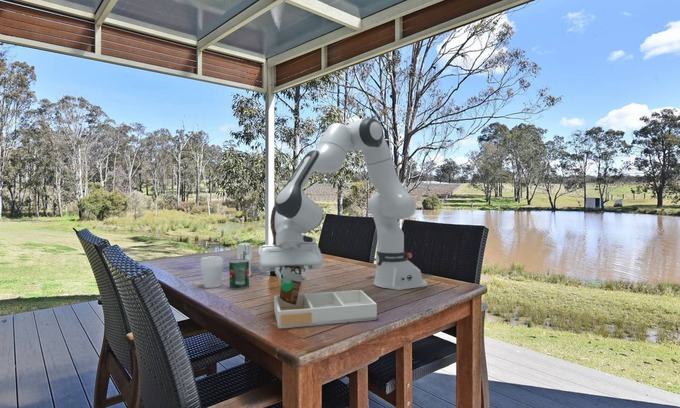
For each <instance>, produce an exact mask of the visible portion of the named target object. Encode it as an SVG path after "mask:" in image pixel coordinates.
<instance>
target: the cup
mask: <svg viewBox="0 0 680 408" xmlns="http://www.w3.org/2000/svg"><path fill="white" fill-rule="evenodd" d="M223 270H224V257H223V256H222V255H209V256H203V257H201V258H200V271H201V278H202V282H203V283H202V284H203V287H204V288H205V289H215V288H220V287H221V286H222V285H221V284H222V279H223Z"/></svg>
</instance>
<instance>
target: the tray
mask: <svg viewBox="0 0 680 408" xmlns="http://www.w3.org/2000/svg"><path fill="white" fill-rule="evenodd" d="M273 307H274V308H273V309H274V315H275V320H276V321H275V322H276V325H277V329H278V330H279V329H281V330H282V329H289V328H290V329H291V328H300V327H301V328H302V327H312V326H314V327H315V326H322V325H334V324H335V325H336V324H344V323H345V324H346V323H347V322H348V323H358V321H359V322H366V321H377V320H378V303H376V302H375V301H374V299H372V298H371V297H370V296H368V295H367V294H366V293H365V292H364V291H363V290H362V289H355V290H342V291H341V290H340V291H339V290H338V291H327V292H326V291H325V292H314V293H313V292H312V293H311V292H310V293H299V294H298V298H297V302H296V305H294V304H290V303H287V302H285V301H283V300H282V299H281V298H280V295H273Z"/></svg>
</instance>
